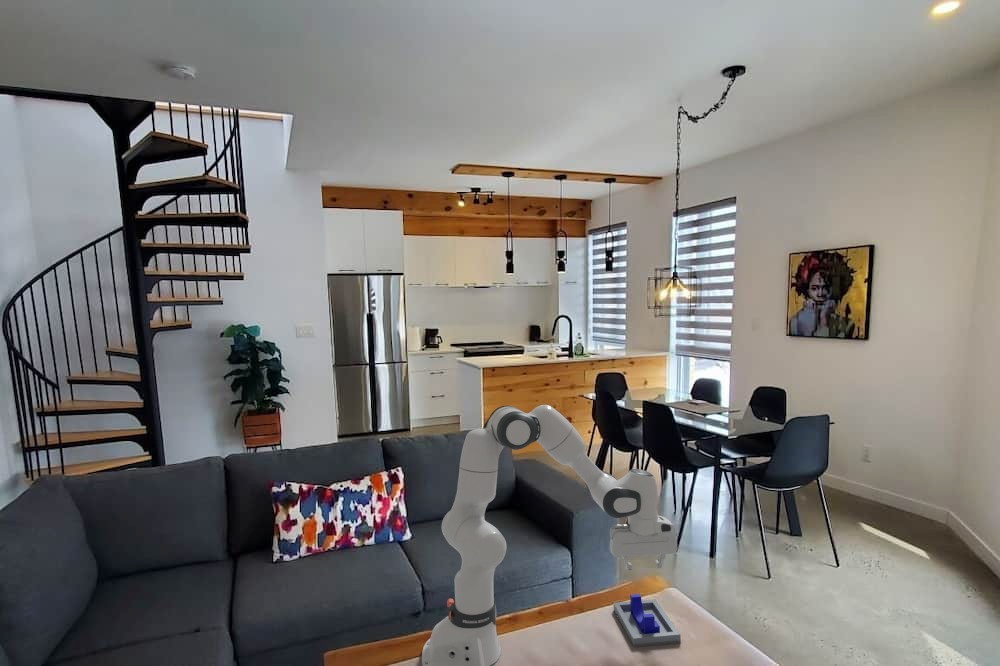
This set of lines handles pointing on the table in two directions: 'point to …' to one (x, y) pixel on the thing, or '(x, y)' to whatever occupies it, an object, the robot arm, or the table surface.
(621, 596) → the table surface
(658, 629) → the blue angular stepped piece
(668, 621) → the tray
